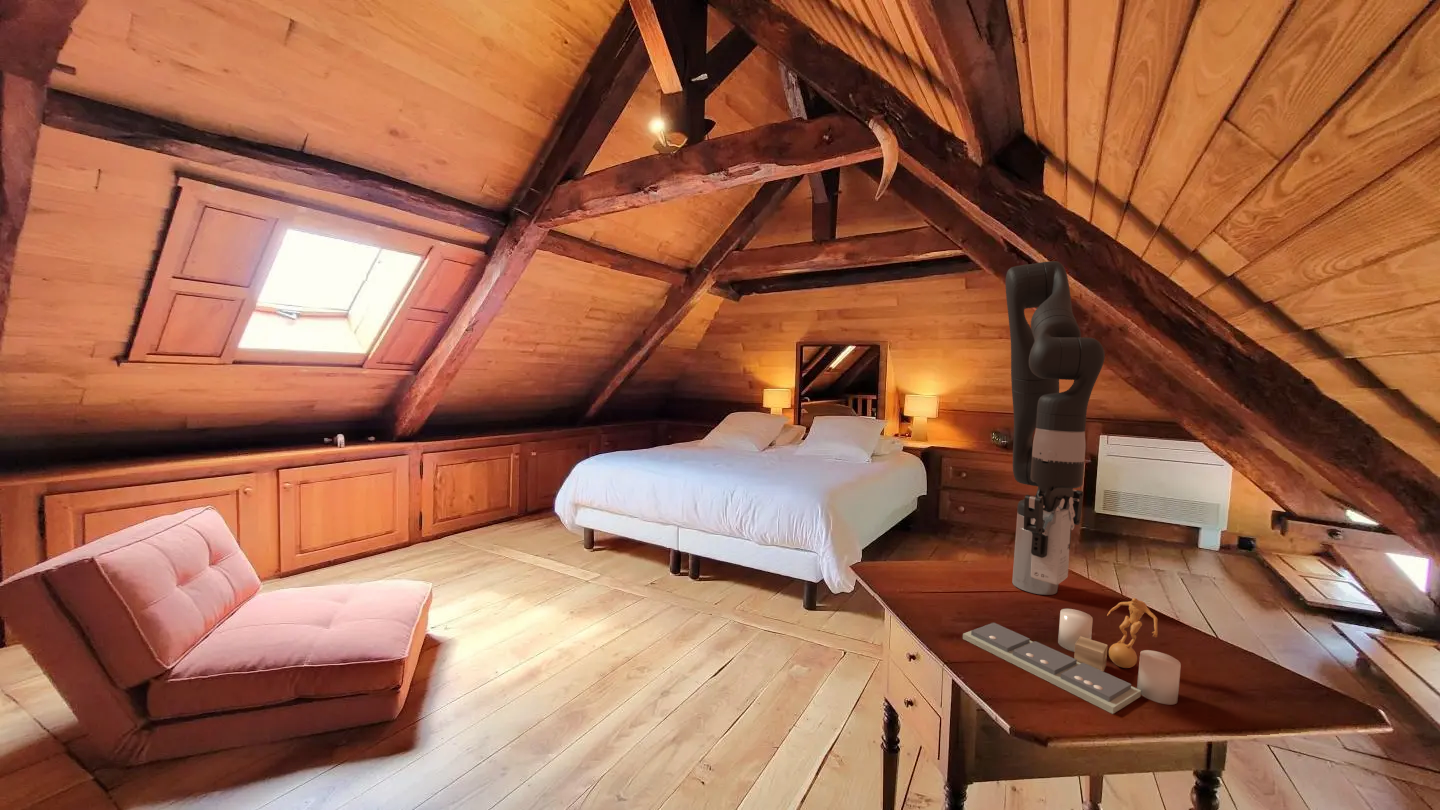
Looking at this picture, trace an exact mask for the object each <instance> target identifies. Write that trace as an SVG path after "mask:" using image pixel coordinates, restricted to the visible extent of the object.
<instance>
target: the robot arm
mask: <svg viewBox="0 0 1440 810" xmlns="http://www.w3.org/2000/svg"><path fill="white" fill-rule="evenodd" d="M1005 296H1006V297H1005V298H1006V306H1007V307H1006V308H1007V316H1008V317H1007V318H1008V325H1009V327H1008V328H1009V333H1010V334H1009V335H1010V376H1011V378H1010V380H1011V395H1012V396H1011V397H1012V409H1013V411H1012V412H1013V444H1012V445H1013V446H1012V473H1013V477H1014V479H1015V480H1016V481H1017V482H1018V483H1019V484H1021V485H1027V486H1033V487H1037V490H1036V493H1035V495H1030V494H1026V495H1025V496H1024V499H1023V498H1022V499H1021V500H1020V501H1018V503H1017V508H1016V509H1017V510H1016V511H1017V512H1016V513H1017V514H1016V528H1015V539H1014V551H1013V552H1014V554H1013V567H1012V585H1013V586H1014V587H1016V588H1017V589H1019V590H1022V591H1025V592H1027V593H1031V594H1037V595H1043V596H1048V595H1049V596H1050V595H1055V594H1057V593H1058V588H1059V584H1057V585H1056V584H1051V583H1048V582H1044V581H1040V580H1037V579H1034V578H1032V577H1031V561H1032V555H1034V556H1038V557H1041V558H1043V557H1046V556H1047V545H1048V536H1047V535H1048V532H1049V530H1050V527H1051V525H1052V524H1055V523H1056V517H1055V516H1056V513H1057V512H1059V511H1060V510H1061V509H1068V511H1069V520H1070V521H1071V526H1070V542H1071V541H1072V540H1071V539H1072V531H1073V530H1074V528H1075V525H1076V526H1080V524H1081V517H1082V510H1083V509H1082V508H1083V502H1084V501H1083V500H1084V491H1082V490H1078V489H1079V488H1081V487H1082V486H1083V484H1084V482H1083V481H1084V474H1085V473H1084V471H1085V458H1086V446H1087V445H1086V424H1087V411H1088V405H1089V402H1090V398H1091V395H1092V393H1093V389H1094V387H1095V385H1096V381H1097V380H1098V378H1099V375H1100V373H1101V370H1102V368H1103V365H1104V363H1105V356H1106V355H1105V354H1106V353H1105V350H1104V347H1103V345H1102V344H1101V342H1100V341H1099V340H1097V339H1096V338H1093V337H1082V336H1081V329H1080V326H1079V325H1078V322H1077V320H1076V318H1075V315H1074V311H1073V306H1072V297H1071V290H1070V284H1069V279H1068V274H1067V271H1066V268H1065V266H1064V265H1063V264H1062V263H1061V262H1060V261H1055V260H1049V261H1042V262H1035V263H1030V264H1029V263H1028V264H1022V265H1016V266H1011V267H1010V268H1009V269H1008V270H1007V271H1006V274H1005ZM1033 308H1036V309H1035V311H1034V312H1033V313H1032V316H1031V320H1030V324H1029V323H1028V320H1027V317H1026V315H1025V310H1026V309H1033ZM1060 380H1062V381H1063V380H1069V381H1073V382H1072V385H1071V386H1070V387H1069V388H1068V389H1066V390H1065V391H1061V392H1060ZM1043 510H1045V511H1047V512H1051V511H1052V513H1051V515H1050V516H1048V517H1047V516H1043ZM1043 521H1044V522H1045V523H1044V526H1043ZM1070 549H1071V546H1070V547H1069V551H1070Z"/></svg>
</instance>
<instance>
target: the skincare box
mask: <svg viewBox="0 0 1440 810" xmlns="http://www.w3.org/2000/svg"><path fill="white" fill-rule="evenodd" d="M1051 513H1052V511H1051V512H1047V511H1045V510H1043V516H1047V517H1048V516H1050V515H1051ZM1055 517H1056V523H1055V524H1052V525H1051V527H1050V530H1049V532H1048V535H1047V536H1048V545H1047V556H1046V557H1043V558H1041V557H1038V556H1034V555H1032V561H1031V577H1032V578H1034V579H1037V580H1040V581H1044V582H1048V583H1051V584H1056V585H1057V584H1058V585H1059V584H1061V583H1062V582H1063V581H1065V580H1066V579H1067V578H1068V576H1069V563H1070V550H1069V547H1070V548H1071V541H1070V526H1071V521H1070V520H1069V511H1068V509H1061V510H1060V511H1059V512H1057V513H1056V516H1055ZM1044 523H1045V522H1044V521H1043V526H1044Z"/></svg>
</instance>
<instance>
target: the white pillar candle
mask: <svg viewBox="0 0 1440 810" xmlns="http://www.w3.org/2000/svg"><path fill="white" fill-rule="evenodd" d="M1139 654H1140V655H1139V664H1138V673H1137V686H1136V688H1137V689H1139V690H1141V696H1142V697H1144V698H1145V699H1148V700H1150V701H1153V702H1155V703H1158V704H1162V705H1170V706H1171V705H1175V704H1177V703H1178V700H1179V699H1178V698H1179V689H1180V679H1181V678H1180V677H1181V665H1182V664H1181V662H1180V661H1179V660H1178V658H1177V659H1176V658H1175V657H1174V656H1172V655H1169V654H1167V653H1164V652H1160V651H1156V650H1150V649H1144V650H1141V651H1140V653H1139Z"/></svg>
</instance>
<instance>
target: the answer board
mask: <svg viewBox="0 0 1440 810" xmlns="http://www.w3.org/2000/svg"><path fill="white" fill-rule="evenodd" d="M962 639H963V640H964V641H967V642H969V643H970V644H973V645H974V646H977V647H978V648H980V649H982V650H983V651H986V652H988V653H990V654H991V655H992V654H993V655H994V656H996V657H997V658H1000V659H1002V660H1005V662H1008V663H1010V664H1011V665H1012V664H1013V665H1014V666H1016V667H1018V668H1019V669H1023V670H1024V671H1026V672H1028V673H1030V674H1031V675H1035V676H1036V677H1038V678H1040V679H1042V680H1045V681H1047V682H1049V684H1052V685H1054V686H1056V687H1058V688H1060V689H1062V690H1065V691H1066V692H1068V693H1070V694H1072V695H1074V696H1076V697H1078V698H1079V699H1082V700H1084V701H1086V702H1087V703H1090V704H1092V705H1094V706H1096V707H1098V708H1100V709H1102V710H1104V711H1106V712H1108V713H1109V714H1111V715H1114V714H1115V713H1117V712H1118V711H1120V710H1122V709H1123V708H1125V707H1127V706H1128V705H1130V704H1131V703H1133V702H1134V701H1136V700H1137V699H1139V698H1141V696H1142V695H1141V690H1139V689H1137V687H1134V686H1132V683H1130V682H1127V681H1125V680H1123V679H1120V678H1118V677H1116V676H1114V675H1112V674H1110V673H1108V672H1105V671H1101V670H1099V669H1096V668H1094V667H1092V666H1090V665H1088V664H1085V663H1079V662H1077V660H1076V659H1074V658H1073V657H1072V656H1070V655H1067V654H1065V653H1063V652H1060V651H1059V650H1056V649H1054V648H1052V647H1049V646H1047V645H1045V644H1043V643H1041V642H1039V641H1032V640H1030V639H1031V638H1029V637H1027V636H1024V635H1023V634H1020V633H1018V632H1017V631H1013V630H1012V629H1009V628H1007V627H1005V626H1002V625H1001V624H998V623H996V622H990V623H988V624H986V625H984V626H980V627H978V628H975V629H972V630H969V631H967V632H964V633H962Z"/></svg>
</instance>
